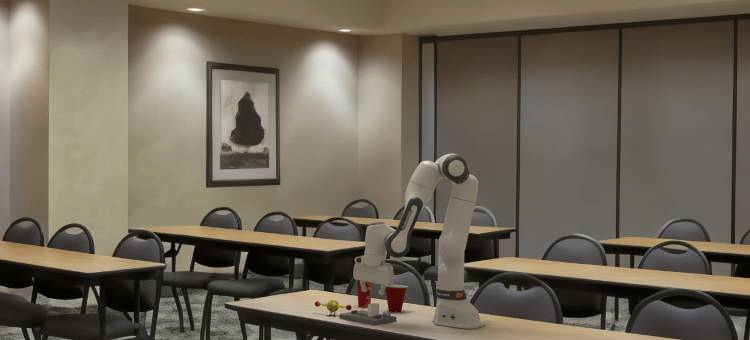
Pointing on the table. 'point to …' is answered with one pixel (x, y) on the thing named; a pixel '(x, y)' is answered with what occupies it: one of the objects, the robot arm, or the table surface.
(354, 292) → the table surface
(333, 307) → the toy figure
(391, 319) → the console
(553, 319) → the table surface
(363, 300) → the paper cup
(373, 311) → the block
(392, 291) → the plastic cup
